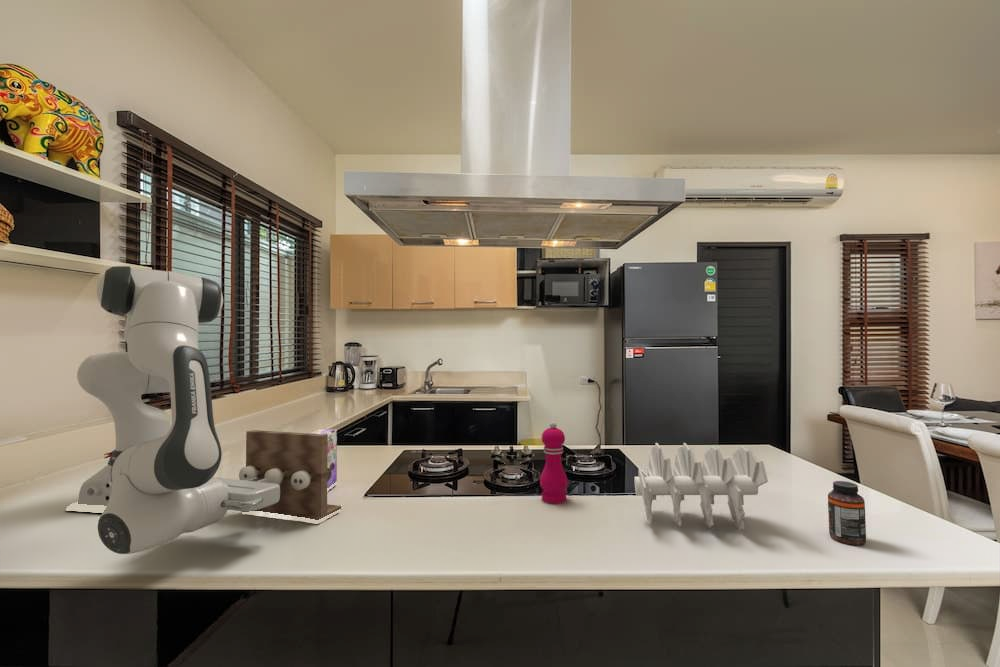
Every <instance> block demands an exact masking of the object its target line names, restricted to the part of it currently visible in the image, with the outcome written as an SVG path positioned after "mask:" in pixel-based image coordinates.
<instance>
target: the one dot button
mask: <svg viewBox="0 0 1000 667" xmlns="http://www.w3.org/2000/svg"><path fill="white" fill-rule="evenodd" d="M259 474H261V468H260V469H257V470H256V468H255V467H254V466H247V467H246V466H244V467H242V468H241V469H240V470H239V472H238V478H239V479H238V480H249V479H253V478H257V476H258V475H259Z"/></svg>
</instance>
